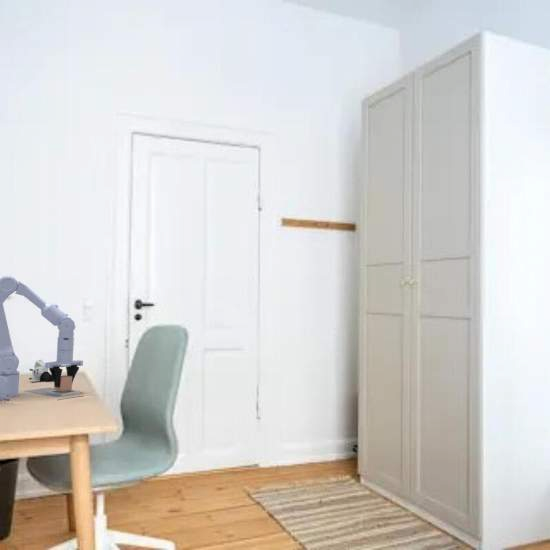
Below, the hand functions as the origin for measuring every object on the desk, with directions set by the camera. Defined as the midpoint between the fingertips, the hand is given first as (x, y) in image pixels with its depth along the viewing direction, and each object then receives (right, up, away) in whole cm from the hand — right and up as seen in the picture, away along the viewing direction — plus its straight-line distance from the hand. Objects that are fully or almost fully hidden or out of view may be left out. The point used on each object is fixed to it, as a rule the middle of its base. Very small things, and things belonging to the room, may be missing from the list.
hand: (63, 386), depth 211 cm
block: (0, -1, 0) cm, 1 cm away
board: (-5, -4, +3) cm, 7 cm away
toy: (-22, -5, +33) cm, 40 cm away
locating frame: (0, -3, 0) cm, 3 cm away
